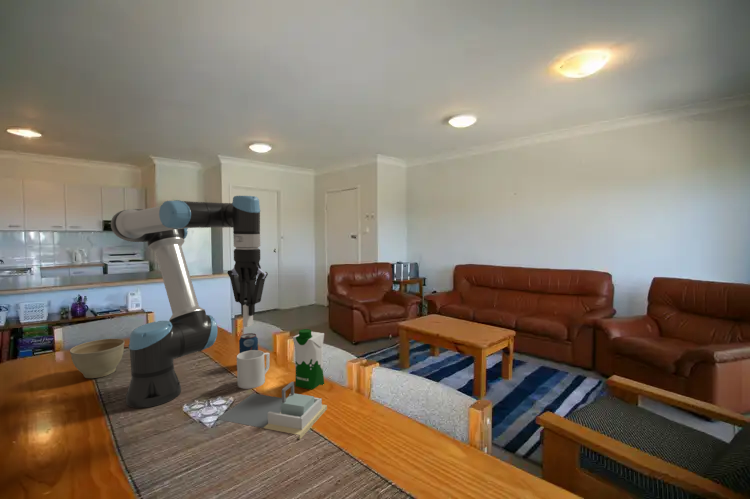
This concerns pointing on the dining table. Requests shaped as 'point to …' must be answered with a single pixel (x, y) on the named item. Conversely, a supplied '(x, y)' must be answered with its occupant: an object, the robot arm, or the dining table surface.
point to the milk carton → (309, 359)
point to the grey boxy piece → (295, 402)
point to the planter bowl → (97, 357)
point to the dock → (273, 414)
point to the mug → (251, 368)
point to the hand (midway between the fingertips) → (248, 325)
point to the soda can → (248, 342)
